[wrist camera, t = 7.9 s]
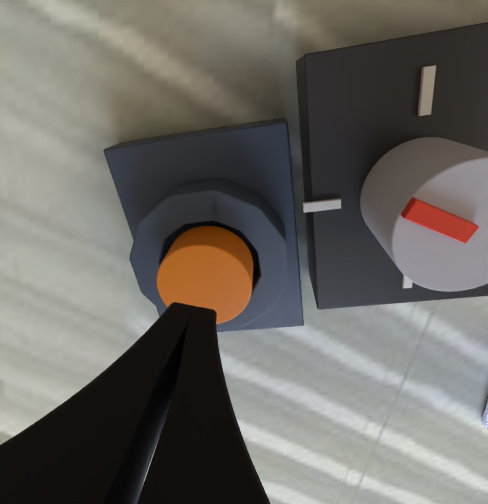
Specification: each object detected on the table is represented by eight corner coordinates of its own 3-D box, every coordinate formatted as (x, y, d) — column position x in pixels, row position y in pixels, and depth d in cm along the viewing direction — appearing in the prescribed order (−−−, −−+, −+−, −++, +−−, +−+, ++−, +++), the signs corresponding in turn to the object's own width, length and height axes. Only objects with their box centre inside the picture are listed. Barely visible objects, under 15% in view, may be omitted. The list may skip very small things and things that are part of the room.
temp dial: (500, 163, 11) (599, 196, 8) (428, 256, 13) (484, 315, 10) (400, 117, 11) (460, 132, 7) (339, 221, 12) (367, 270, 9)
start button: (158, 230, 13) (144, 250, 11) (246, 219, 12) (244, 239, 11) (179, 302, 15) (169, 328, 13) (258, 295, 14) (257, 321, 13)
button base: (119, 142, 14) (79, 158, 11) (284, 117, 14) (290, 126, 10) (173, 316, 19) (155, 361, 16) (300, 306, 18) (308, 351, 15)
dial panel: (286, 62, 13) (293, 55, 10) (511, 23, 12) (589, 3, 9) (302, 275, 17) (310, 312, 14) (466, 260, 16) (507, 297, 13)
